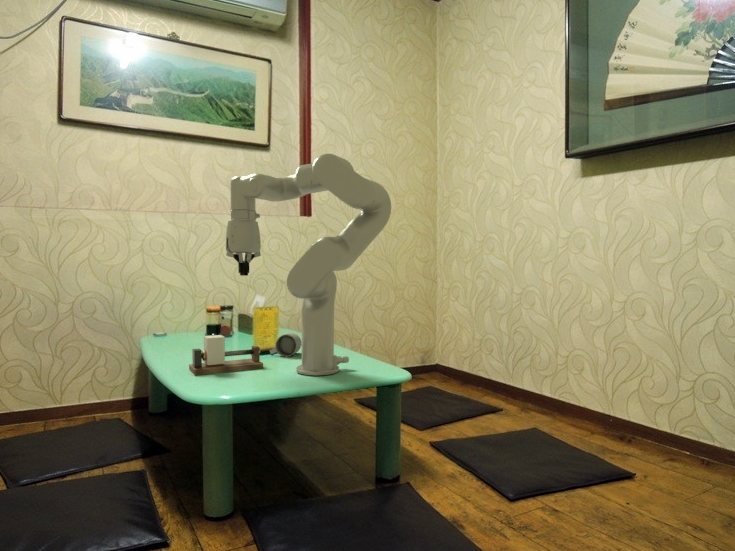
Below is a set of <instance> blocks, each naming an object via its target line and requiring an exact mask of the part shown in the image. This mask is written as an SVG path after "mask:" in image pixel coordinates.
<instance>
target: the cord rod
mask: <svg viewBox="0 0 735 551" xmlns="http://www.w3.org/2000/svg"><path fill="white" fill-rule="evenodd" d="M191 351H192V357H191V359H192V364H193V367H194V368H200V367H202V363H203V362H204V361H206V351H204V350H202V349H201V348H193V349H191ZM252 354H254V350H253V349H252V348H251V349H241V350H226V351H225V358H226V357H235V356H237V357H238V356H247V355H252ZM202 361H203V362H202Z"/></svg>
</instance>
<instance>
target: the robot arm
mask: <svg viewBox="0 0 735 551" xmlns="http://www.w3.org/2000/svg"><path fill="white" fill-rule="evenodd" d="M327 191H328V192H330V193H331V194H332V195H334V196H335V197H336V198H337V199H339V200H340V201H341V202H343V203H344V204H345V205H346V206H348V207H350V208H352V209H356V210H360V212H359V213H358V214H357V215H356V216H354V217H353V218H352V219H351V220H350V221H349V222H348V223H347V224H346V225H345V226H344V228H343V229H342V230H341V231H340V232H339V233H338V234H337V235H336V236H324V237H321V238H319V239H317V240H316V241H314V242H313V243H312V244H311V246H310V247H309V248H307V250H306V251H305V252H304V253H303V255H302V256H301V257H300V258H299V259H298V260H297V262H296V263H295V264H294V265H293V267H292V268H291V269H290V271H289V273H288V275H287V277H286V286H287V290H288V292H289V293H290V294H291V295H292V296H293V297H295V298H296V299H303V302H302V308H301V364H300V365H298V366H297V367H296V368H295V371H296V373H298V374H301V375H303V376H304V375H305V376H329V375H333V374H336V373H339V372H340V367H339V365H340V364H349V362H350V358H349V356H348V355H346V356H337V355H336V354H335V302H336V301H335V300H336V295H337V294H336V292H337V286H338V280H337V276H336V273H335V272H339V271H345V270H347V269H349V268H351V267H352V265H353V264H354V263H355V262H356V261H357V259H358V258H360V256H361V255H363V253H364V252H365V250H366V249H368V247H369V246H370V245H371V244H372V242H373V241H374V240H375V239H376V238H377V236H379V234H380V233H381V232H382V231H383V230H384V228H385V227H386V225H387V224H388V222H389V219H390V217H391V213H392V202H391V197H390V194H389V193H388V190H387V189H386V188H385V187H384V186H383V185H382V184H380V183H378V182H376V181H373V180H370V179H368V178H365V177H363V176H362V175H361V174H359V173H357V172H356V171H355V169H354V166H353V165H352V164H351V162H350V161H348V160H347V159H345V158H343V157H341V156H338V155H336V154H333V153H324V154H321V155H319V156H318V157H316V159H314V161H313V162H312V163H307V164H302V165H299V166H298V167H297V169H296V170H295V174H292V175H287V176H284V177H283V176H282V177H275V176H272V175H267V174H263V173H253V174H249V175H247V176H234V177H232V178H231V179H230V220H228V221H227V226H226V235H225V251H226V254H225V255H226V257H229V258H233V259H234V260H235V261H236V262H237V265H238V273H239V276H241V277H243V276H244V277H245V276H247V277H248V276H249V273H250V263H251V261H252V260H253V259H254V258H255V259H256V258H259V257H261V256H262V254H261V248H262V247H261V246H262V245H261V243H262V242H261V233H260V226H259V221H257V219H260V217H261V215H260V213H257V211H256V199H258V200H264V201H269V202H273V203H274V202H285V201H289V200H295V199H299V198H302V197H304V196H306V195H311V194H314V193H315V194H316V193H322V192H327ZM243 254H244V256H243Z"/></svg>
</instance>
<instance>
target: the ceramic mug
mask: <svg viewBox="0 0 735 551" xmlns="http://www.w3.org/2000/svg"><path fill="white" fill-rule="evenodd" d="M274 344H275V345H274V347H273V348H272V349H269V353H270V355H273V354H275V353H277V354H278V355H279V356H282V357H284V356H285V357H286V358H288V357H291V356H293V355H294V354H296V353H297V352H299V351H300V349H302V338H300V336H299V335H298V334H296V333H294V332H289V333H285V334H281V335H280V336H278V337H277V339H276V341H275V343H274Z"/></svg>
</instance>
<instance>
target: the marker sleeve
mask: <svg viewBox="0 0 735 551" xmlns="http://www.w3.org/2000/svg"><path fill="white" fill-rule="evenodd" d="M225 339H226V338H225V336H224V335H222V334H218V335H217V334H214V335H204V336H203V351H206V361H203V363H205V364H207V365H216V364H225V361H226V359H225V358H226V357H225V350H226V347H225V346H226V343H225V341H226V340H225Z"/></svg>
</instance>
